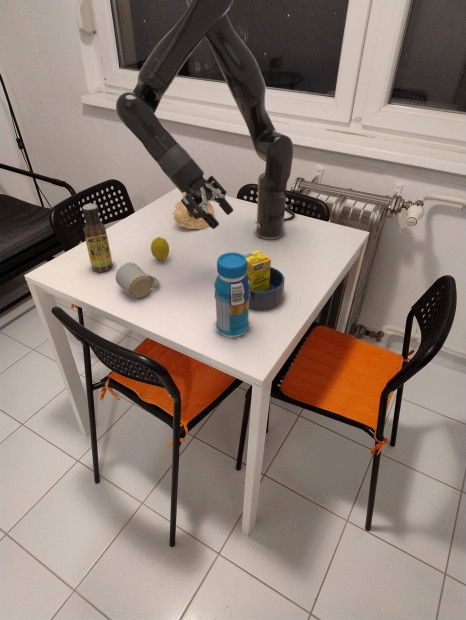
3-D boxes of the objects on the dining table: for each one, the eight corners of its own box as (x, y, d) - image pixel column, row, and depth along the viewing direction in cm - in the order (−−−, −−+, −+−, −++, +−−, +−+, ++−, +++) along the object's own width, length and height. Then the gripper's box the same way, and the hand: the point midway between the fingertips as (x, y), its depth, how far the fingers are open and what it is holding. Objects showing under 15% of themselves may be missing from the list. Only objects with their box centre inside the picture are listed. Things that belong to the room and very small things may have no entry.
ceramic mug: (132, 304, 108) (127, 280, 103) (117, 290, 112) (112, 267, 108) (165, 289, 113) (162, 266, 108) (150, 277, 118) (146, 254, 113)
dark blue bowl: (247, 278, 117) (247, 261, 113) (288, 289, 113) (290, 271, 109) (229, 303, 108) (228, 285, 104) (273, 315, 104) (275, 297, 100)
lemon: (167, 265, 123) (164, 242, 118) (150, 263, 123) (146, 240, 118) (172, 256, 127) (170, 233, 122) (156, 254, 128) (153, 232, 123)
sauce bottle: (94, 275, 119) (77, 213, 106) (90, 264, 123) (74, 204, 110) (116, 270, 121) (102, 208, 108) (111, 260, 125) (98, 200, 113)
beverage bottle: (210, 333, 99) (206, 265, 86) (223, 313, 105) (221, 246, 92) (242, 342, 96) (243, 273, 84) (253, 320, 102) (256, 253, 90)
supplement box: (252, 300, 108) (253, 266, 101) (239, 289, 111) (239, 256, 105) (269, 292, 110) (271, 259, 103) (256, 282, 114) (257, 249, 107)
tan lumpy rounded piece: (208, 244, 145) (212, 230, 139) (169, 235, 143) (171, 221, 136) (213, 207, 154) (217, 193, 147) (176, 199, 152) (179, 184, 145)
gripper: (174, 168, 90) (221, 224, 94) (203, 150, 100) (244, 200, 104) (157, 187, 95) (202, 239, 99) (186, 168, 105) (226, 215, 109)
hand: (223, 219), depth 101 cm, fingers open, 8 cm apart
